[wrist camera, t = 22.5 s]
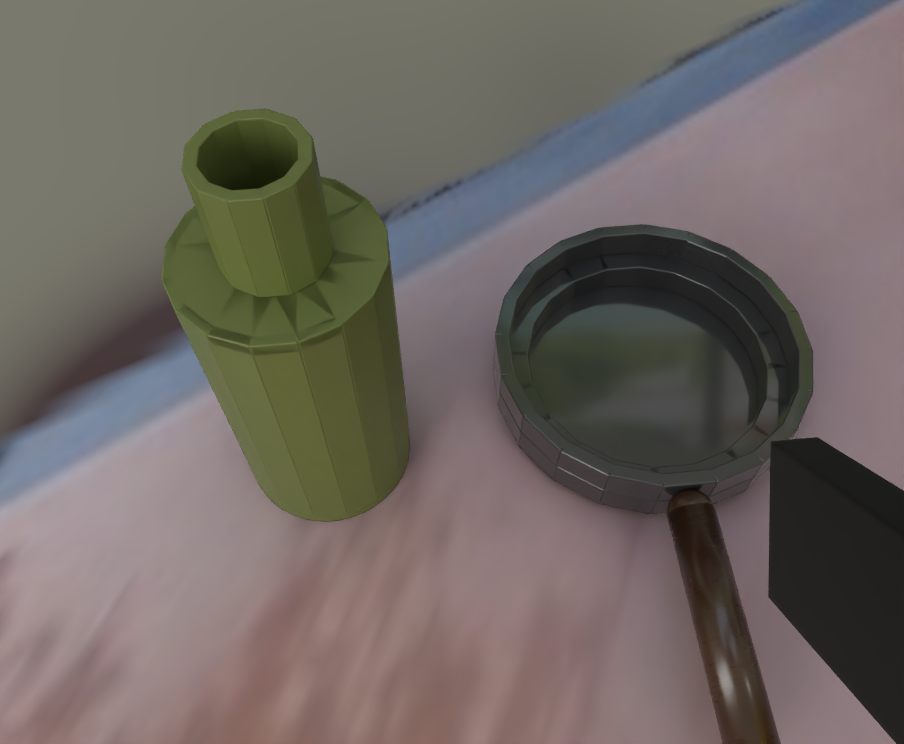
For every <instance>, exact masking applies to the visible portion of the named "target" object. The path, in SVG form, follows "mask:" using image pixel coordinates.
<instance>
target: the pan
mask: <svg viewBox="0 0 904 744" xmlns="http://www.w3.org/2000/svg"><path fill="white" fill-rule="evenodd" d="M493 372H494V379H495V386H496V393H497V401H498V406H499V410H500V412H501V413H502V415H503V417H504V419H505V421H506V423H507V425H508V427H509V429H510V430H511V432H512V434H513V436H514V438H515V440H516V442H517V444H518V445H519V446H520V448H521V449H522V450H523V451H524V452H525V453H526V454H527V455H528V456H529V457H530V458H531V459H532V460H533V461H534V462H535V463H536V464H537V465H539V466H540V467H541V468H542V469H543V470H544V471H545V472H546V473H547V474H548V475H549V476H550V477H551V478H552V479H553V480H554V481H556V482H558V483H560V484H562V485H564V486H566V487H568V488H570V489H571V490H573V491H575V492H577V493H579V494H581V495H583V496H585V497H587V498H589V499H591V500H593V501H594V502H596V503H600V504H603V505H608V506H613V507H618V508H622V509H627V510H632V511H637V512H642V513H647V514H650V513H651V514H658V513H667V507H668V504H669V501H670V500H671V498H672V497H673V496H674V495H675V494H676V493H678V492H680V491H682V490H686V489H695V490H699V491H701V492H703V493H704V494H706V495H707V496H708V497H709V498H710V499H711V501H712V502H713V504H715V503H717V502H720V501H722V500H724V499H727V498H729V497H731V496H734V495H736V494H738V493H741V492H743V491H744V490H746V489H747V488H748V487H749V486H750V485H751V484H752V483H753V482H754V481H755V480H756V479H757V478H758V477H759V476H760V475H761V474H762V473H763V472H764V471H766V470H767V469H768V468H769V467H770V455H771V441H781V440H791V438H792V437H793V435H794V434H795V433H796V431H797V429H798V427H799V425H800V422H801V420H802V418H803V415H804V413H805V411H806V408H807V406H808V404H809V401H810V399H811V397H812V394H813V351H812V347H811V344H810V342H809V339H808V337H807V334H806V332H805V329H804V326H803V324H802V321H801V319H800V316H799V314H798V311H797V310H796V308H795V307H794V306H793V305H792V303H791V302H790V301H789V300H788V299H787V297H786V296H785V295H784V294H783V292H782V291H781V290H780V289H779V287H778V286H777V285H776V284H775V282H774V281H773V280H772V279H771V278H770V277H769V276H768V275H767V274H766V273H764V272H763V271H762V270H760V269H759V268H757V267H756V266H755V265H753V264H752V263H751V262H749V261H748V260H746V259H745V258H744V257H742V256H741V255H739V254H738V253H737V252H735V251H734V250H731V249H730V248H728V247H726V246H723V245H721V244H718V243H716V242H713V241H711V240H708V239H706V238H703V237H701V236H699V235H696V234H694V233H691V232H688V231H683V230H676V229H670V228H664V227H658V226H651V225H629V226H616V227H602V228H597V229H594V230H591V231H588V232H585V233H582V234H579V235H576V236H573V237H570V238H568V239H565V240H562V241H560V242H558V243H557V244H555V245H554V246H552V247H551V248H550V249H548V250H547V251H545V252H544V253H543V254H541V255H540V256H539V257H537V258H536V259H534V260H533V261H532V262H530V263H529V264H528V265H527V266H526V267H525V268H524V269H523V271H522V272H521V274H520V275H519V277H518V278H517V279H516V281H515V282H514V284H513V285H512V287H511V288H510V289H509V291H508V292H507V294H506V295H505V297H504V299H503V303H502V308H501V312H500V316H499V320H498V324H497V328H496V332H495V343H494V360H493Z"/></svg>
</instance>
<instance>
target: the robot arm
mask: <svg viewBox="0 0 904 744" xmlns="http://www.w3.org/2000/svg"><path fill="white" fill-rule="evenodd" d="M768 597H769V598H770V599H771V601H772V602H773V603H774V604H775V605H776V606H777V607H778V609H779V610H780V611H781V612H782V613H783V614H784V615H785V617H786V618H787V619H788V620H789V621H790V622H791V623H792V625H793V626H794V627H795V628H796V629H797V630H798V631H799V633H800V634H801V635H802V636H803V637H804V638H805V640H806V641H807V642H808V643H809V644H810V645H811V646H812V648H813V649H814V650H815V651H816V652H817V653H818V654H819V656H820V657H821V658H822V659H823V660H824V661H825V662H826V664H827V665H828V666H829V667H830V668H831V669H832V670H833V672H834V673H835V674H836V675H837V676H838V677H839V678H840V680H841V681H842V682H843V683H844V684H845V685H846V686H847V688H848V689H849V690H850V691H851V692H852V693H853V694H854V696H855V697H856V698H857V699H858V700H859V701H860V702H861V704H862V705H863V706H864V707H865V708H866V709H867V710H868V712H869V713H870V714H871V715H872V716H873V717H874V718H875V720H876V721H877V722H878V723H879V724H880V725H881V726H882V728H883V729H884V730H885V731H886V732H887V733H888V734H889V736H890V737H891V738H892V739H893V740H894V741H895V742H896V744H904V491H903V490H901V489H900V488H898V487H897V486H895V485H893V484H892V483H890V482H888V481H887V480H885V479H884V478H882V477H880V476H879V475H877V474H876V473H874V472H872V471H871V470H869V469H868V468H866V467H864V466H863V465H861V464H859V463H858V462H856V461H855V460H853V459H851V458H850V457H848V456H847V455H845V454H843V453H842V452H840V451H838V450H837V449H835V448H834V447H832V446H830V445H829V444H827V443H826V442H824V441H822V440H821V439H819V438H818V437H815V438H804V439H792V440H781V441H771V455H770V524H769V593H768Z"/></svg>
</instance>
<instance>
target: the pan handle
mask: <svg viewBox="0 0 904 744" xmlns="http://www.w3.org/2000/svg"><path fill="white" fill-rule="evenodd" d="M667 516H668V521H669V525H670V529H671V533H672V537H673V541H674V545H675V550H676V554H677V558H678V562H679V566H680V570H681V574H682V578H683V582H684V586H685V590H686V594H687V599H688V603H689V607H690V611H691V615H692V619H693V623H694V627H695V631H696V635H697V639H698V643H699V648H700V652H701V656H702V660H703V664H704V668H705V672H706V676H707V680H708V684H709V688H710V693H711V697H712V701H713V705H714V709H715V713H716V717H717V721H718V725H719V729H720V733H721V737H722V742H723V744H781V743H780V739H779V736H778V732H777V729H776V725H775V721H774V718H773V714H772V711H771V707H770V704H769V700H768V696H767V693H766V689H765V686H764V682H763V678H762V675H761V671H760V668H759V664H758V660H757V657H756V653H755V650H754V646H753V643H752V639H751V635H750V632H749V628H748V625H747V621H746V617H745V614H744V610H743V607H742V603H741V600H740V596H739V592H738V589H737V585H736V582H735V578H734V574H733V571H732V567H731V564H730V560H729V556H728V553H727V549H726V546H725V542H724V539H723V535H722V531H721V528H720V524H719V521H718V517H717V513H716V510H715V507H714V504H713V502H712V501H711V499H710V498H709V497H708V496H707V495H706V494H704V493H703V492H701V491H699V490H695V489H686V490H682V491H680V492H678V493H676V494H675V495H674V496H673V497H672V498H671V500H670V501H669V504H668V507H667Z"/></svg>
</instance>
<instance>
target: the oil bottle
mask: <svg viewBox="0 0 904 744" xmlns="http://www.w3.org/2000/svg"><path fill="white" fill-rule="evenodd" d="M182 173H183V175H184V178H185V181H186V183H187V186H188V188H189V191H190V194H191V196H192V199H193V202H194V204H195V206H194V207H193V208H192V209H190V210H189V211H188V212H186V214H185V215H184V216H183V218H182V219H181V221H180V222H179V224H178V226H177V227H176V229H175V230H174V232H173V233H172V235H171V237H170V238H169V240H168V241H167V243H166V245H165V252H164V260H163V268H162V277H161V279H162V283H163V285H164V287H165V290H166V292H167V294H168V297H169V299H170V301H171V304H172V306H173V308H174V310H175V312H176V315H177V317H178V319H179V321H180V323H181V325H182V327H183V329H184V331H185V333H186V335H187V337H188V339H189V341H190V343H191V346H192V348H193V350H194V352H195V354H196V356H197V358H198V360H199V362H200V364H201V366H202V368H203V370H204V372H205V374H206V376H207V378H208V381H209V383H210V385H211V387H212V389H213V391H214V393H215V395H216V397H217V399H218V401H219V403H220V405H221V407H222V409H223V411H224V414H225V416H226V418H227V420H228V422H229V424H230V426H231V428H232V430H233V432H234V434H235V436H236V438H237V440H238V442H239V444H240V446H241V449H242V451H243V453H244V455H245V457H246V459H247V461H248V463H249V465H250V467H251V469H252V471H253V473H254V475H255V477H256V479H257V481H258V484H259V486H260V487H261V489H262V490H263V491H264V492H265V494H266V495H267V496H268V497H269V498H270V499H271V500H272V501H273V502H274V503H275V504H276V505H277V506H279V507H280V508H281V509H283V510H285V511H286V512H288V513H290V514H292V515H295V516H298V517H300V518H304V519H309V520H315V521H335V520H342V519H346V518H350V517H353V516H356V515H359V514H361V513H363V512H365V511H367V510H369V509H371V508H373V507H374V506H375V505H377V504H378V503H380V502H381V501H382V500H383V499H384V498H385V497H387V496H388V495H389V494H390V493H391V491H392V490H393V489H394V488H395V486H396V485H397V484H398V482H399V480H400V479H401V477H402V475H403V473H404V471H405V468H406V465H407V462H408V457H409V451H410V440H409V429H408V418H407V408H406V399H405V390H404V381H403V371H402V362H401V353H400V344H399V334H398V325H397V316H396V307H395V297H394V288H393V279H392V270H391V260H390V251H389V242H388V233H387V228H386V226H385V224H384V223H383V221H382V220H381V218H380V217H379V215H378V214H377V212H376V211H375V209H374V207H373V206H372V204H371V203H370V201H369V200H368V199H367V198H365V197H363V196H362V195H360V194H359V193H357V192H356V191H354V190H352V189H351V188H349V187H348V186H346V185H344V184H343V183H341V182H340V181H337V180H335V179H330V178H326V177H321V176H320V173H319V168H318V163H317V158H316V152H315V148H314V142H313V138H312V136H311V135H310V134H309V133H308V132H307V131H306V130H305V128H304V127H303V126H302V125H301V124H300V123H299V121H297V119H295V118H294V117H291V116H287V115H284V114H282V113H278V112H275V111H272V110H269V109H267V110H266V109H255V110H242V111H234V112H230V113H228V114H226V115H223V116H221V117H219V118H217V119H214V120H212V121H210V122H208V123H205V124H204V125H202V127H201V128H200V129H199V130H198V131H197V132H196V133H195V134H194V136H193V137H192V138H191V139H190V140H189V141H188V142H187V143H186V144H185V147H184V153H183V162H182Z"/></svg>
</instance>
